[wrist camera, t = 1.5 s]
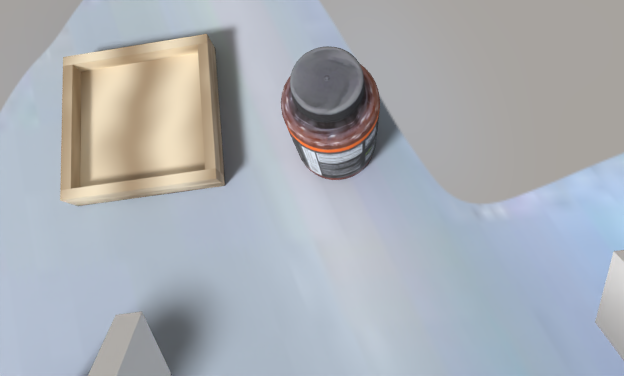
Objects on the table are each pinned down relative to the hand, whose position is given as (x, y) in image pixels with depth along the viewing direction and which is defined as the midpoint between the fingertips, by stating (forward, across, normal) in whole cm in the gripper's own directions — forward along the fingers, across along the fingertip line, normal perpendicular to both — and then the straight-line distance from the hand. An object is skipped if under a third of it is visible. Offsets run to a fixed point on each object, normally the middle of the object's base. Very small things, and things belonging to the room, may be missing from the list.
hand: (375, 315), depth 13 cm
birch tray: (+25, -15, -2) cm, 30 cm away
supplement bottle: (+22, 0, -5) cm, 23 cm away
